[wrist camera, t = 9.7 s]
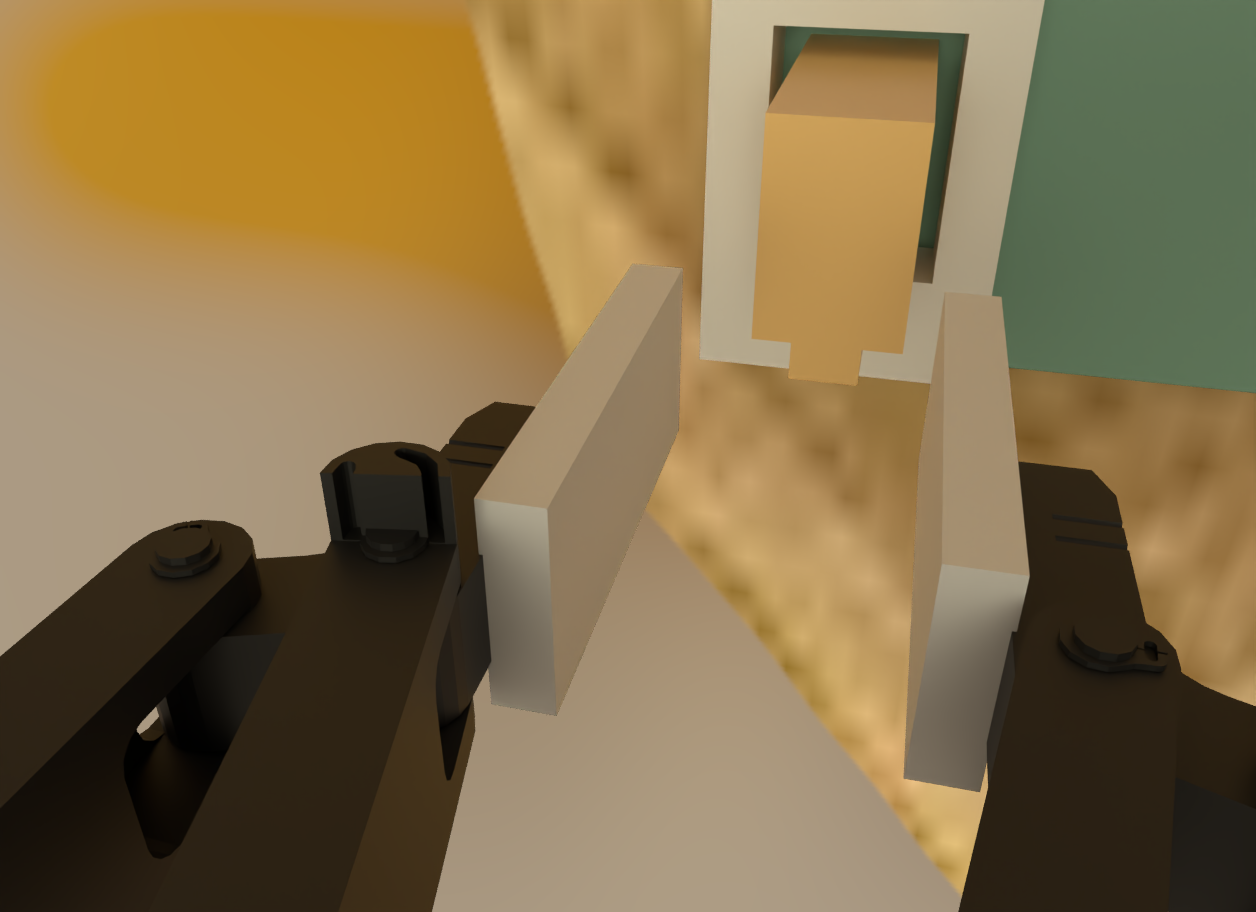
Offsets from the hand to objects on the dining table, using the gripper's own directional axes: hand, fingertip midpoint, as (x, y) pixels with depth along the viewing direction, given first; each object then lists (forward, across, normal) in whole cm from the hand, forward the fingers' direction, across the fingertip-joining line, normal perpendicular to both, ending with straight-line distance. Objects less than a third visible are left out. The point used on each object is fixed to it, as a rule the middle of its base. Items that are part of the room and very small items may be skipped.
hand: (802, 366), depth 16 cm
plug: (+14, 0, 0) cm, 14 cm away
